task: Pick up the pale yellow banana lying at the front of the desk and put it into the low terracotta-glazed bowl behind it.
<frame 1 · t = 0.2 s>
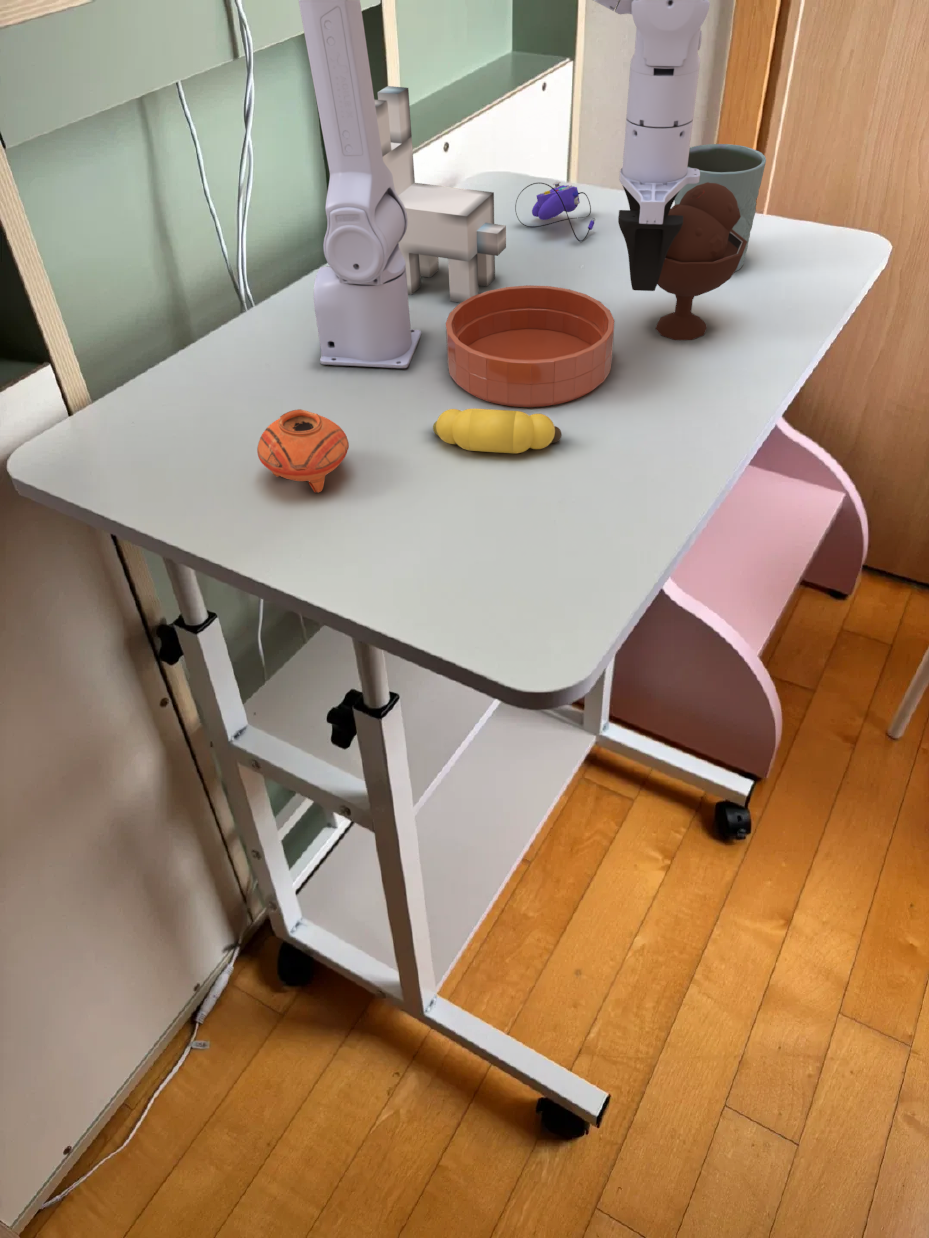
hand: (644, 272, 92), 10 cm above the table, tool pointing down, fingers open, 7 cm apart
bowl: (529, 366, 99), on the table
banana: (494, 448, 89), on the table
ice cream bowl: (680, 330, 105), on the table
grey green cup: (705, 262, 117), on the table
pot: (308, 479, 86), on the table
toy llama: (435, 285, 115), on the table
game controller: (564, 229, 126), on the table
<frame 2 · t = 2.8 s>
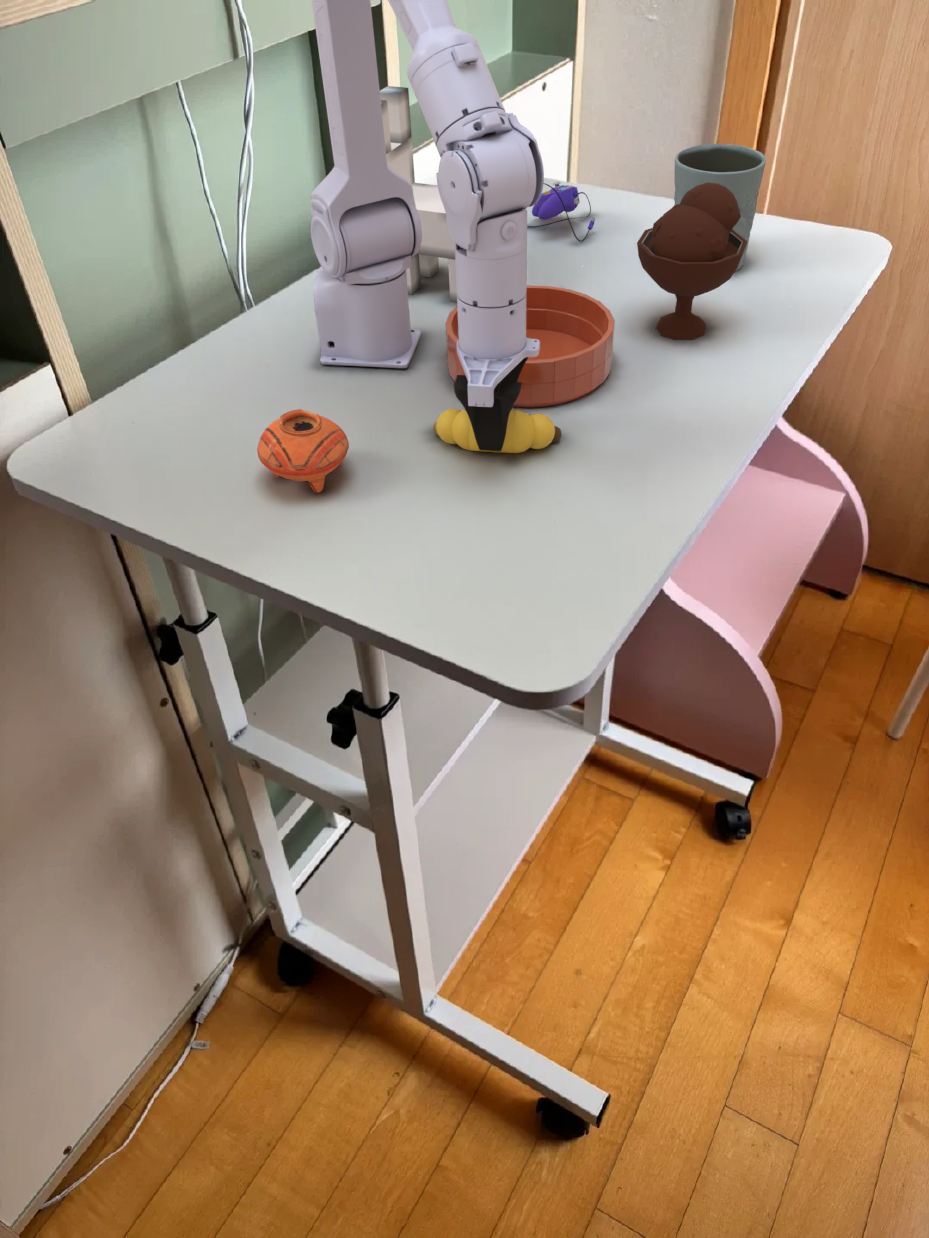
hand: (493, 435, 88), 1 cm above the table, tool pointing down, fingers closed on banana, 4 cm apart
banana: (494, 448, 89), on the table, touching gripper
everything else where it was.
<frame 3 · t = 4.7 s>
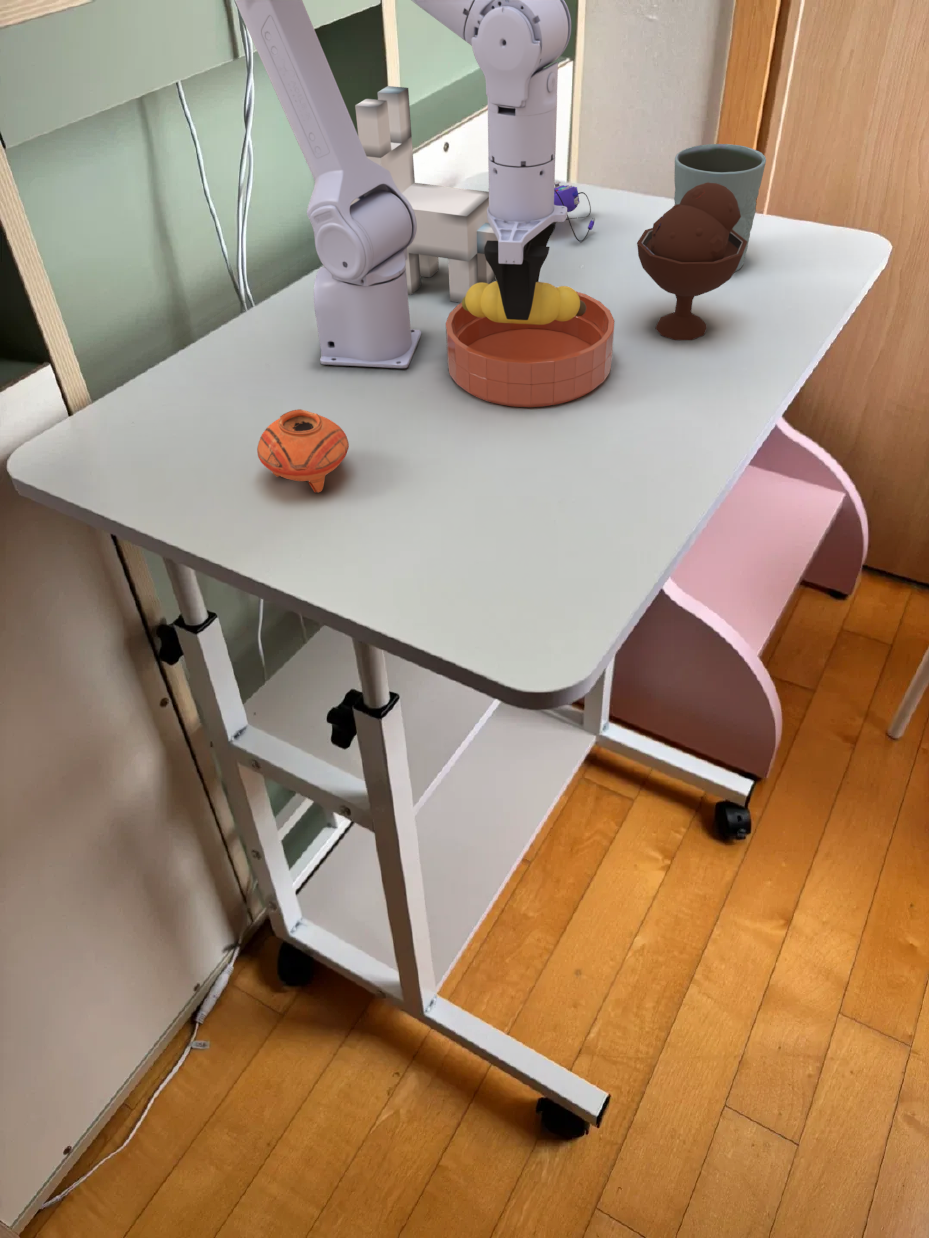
hand: (520, 307, 91), 8 cm above the table, tool pointing down, fingers closed on banana, 4 cm apart
banana: (521, 321, 92), point 7 cm above the table, touching gripper
everything else where it was.
when the fingers open (2 cm above the table, at t = 7.0 s): banana stays where it is, resting on bowl.
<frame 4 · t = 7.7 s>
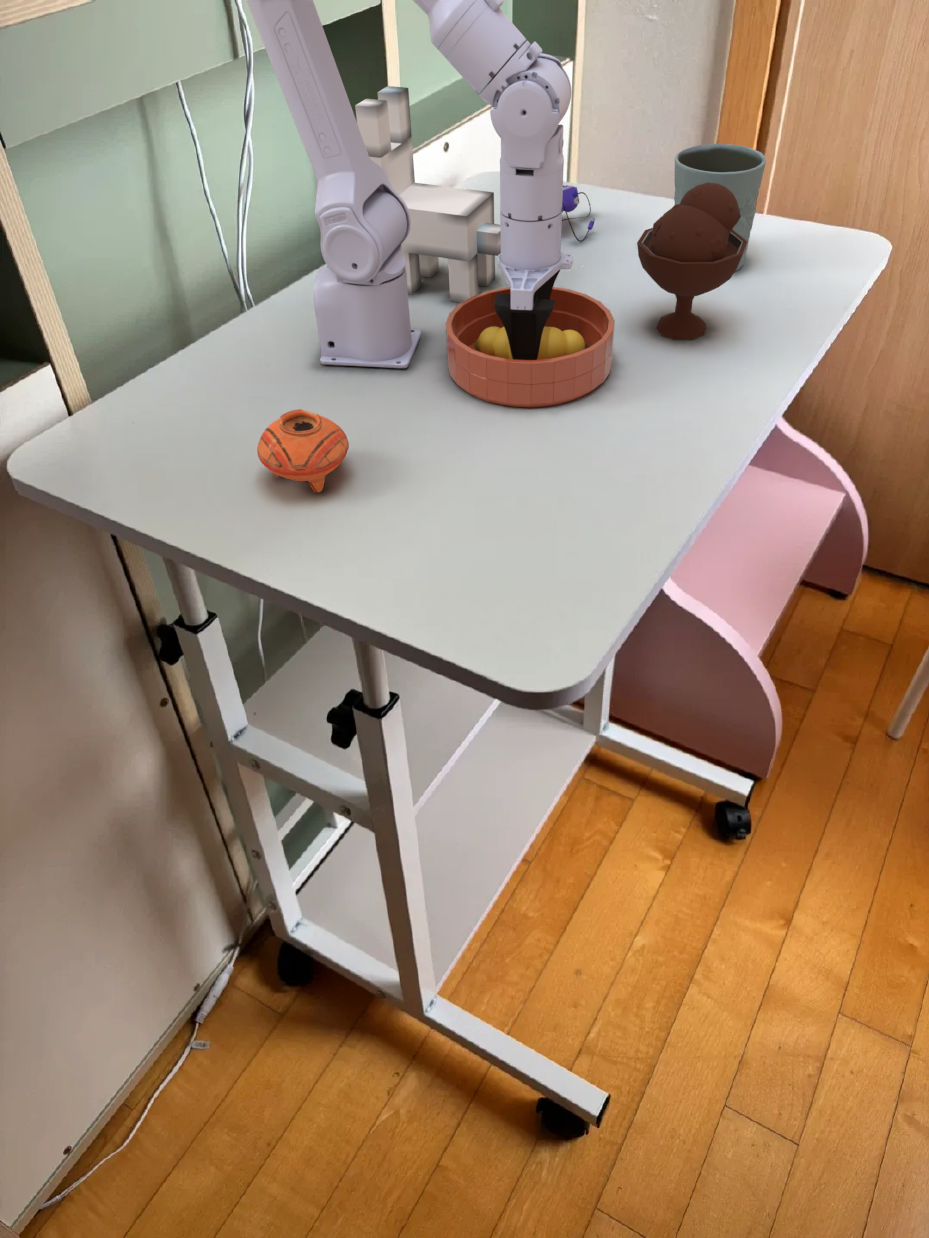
hand: (529, 346, 98), 2 cm above the table, tool pointing down, fingers open, 7 cm apart
banana: (530, 362, 99), resting on bowl
everything else where it was.
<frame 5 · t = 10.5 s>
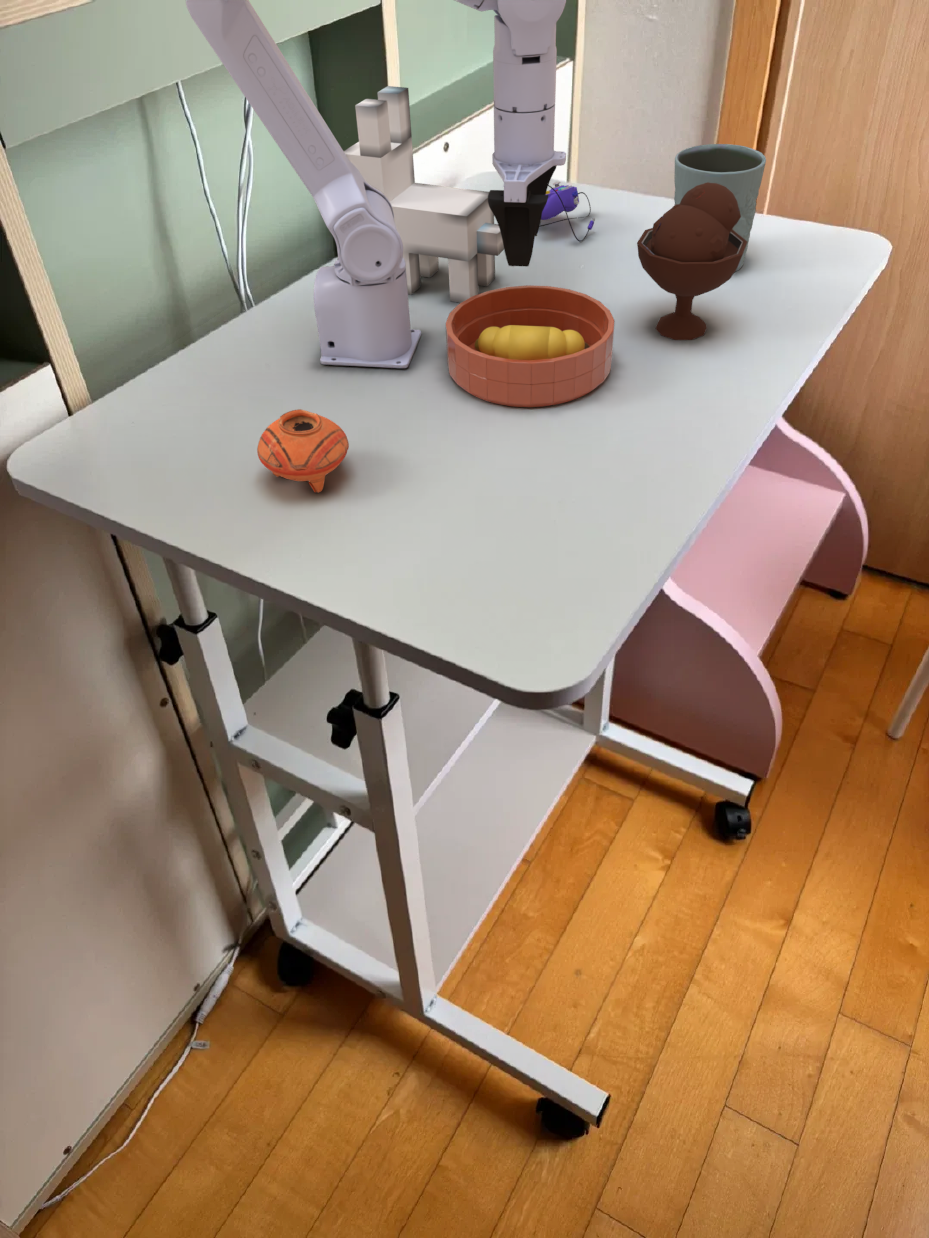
hand: (523, 249, 98), 9 cm above the table, tool pointing down, fingers open, 7 cm apart
nothing on the table moved.
at the end: banana inside the target area in the bowl (0.1 cm from its centre), point 0.5 cm above the bowl's base; the gripper is holding nothing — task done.
